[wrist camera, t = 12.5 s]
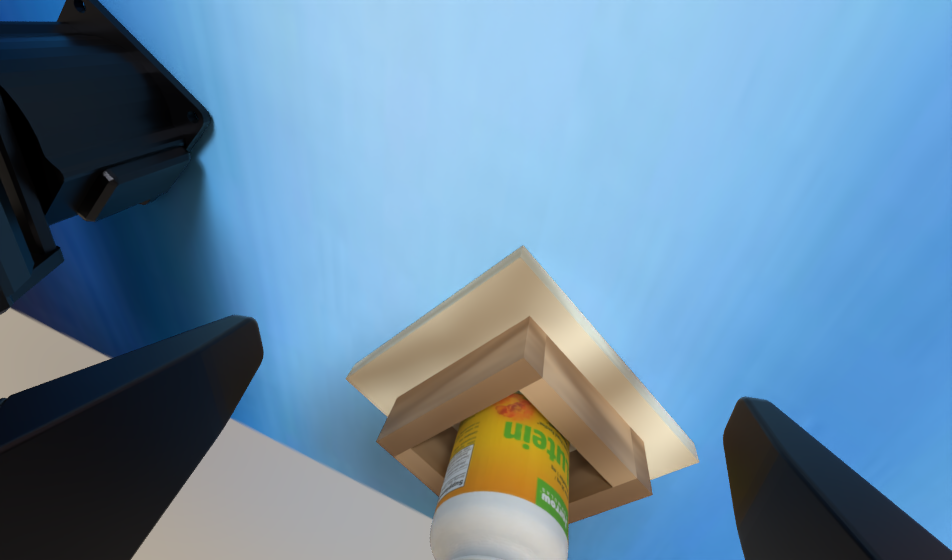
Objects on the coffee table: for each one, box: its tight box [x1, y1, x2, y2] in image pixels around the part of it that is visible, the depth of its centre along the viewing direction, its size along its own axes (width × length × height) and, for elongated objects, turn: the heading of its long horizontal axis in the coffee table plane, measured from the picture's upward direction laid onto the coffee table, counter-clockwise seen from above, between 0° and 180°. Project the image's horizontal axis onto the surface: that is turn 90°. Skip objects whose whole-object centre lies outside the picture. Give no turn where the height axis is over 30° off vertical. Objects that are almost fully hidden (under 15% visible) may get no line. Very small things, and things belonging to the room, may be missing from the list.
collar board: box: [346, 246, 699, 524], centre depth 23 cm, size 14×12×4 cm
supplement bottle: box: [430, 391, 570, 560], centre depth 19 cm, size 5×5×10 cm
